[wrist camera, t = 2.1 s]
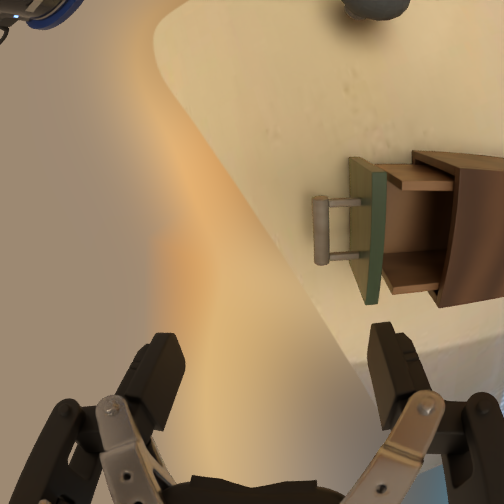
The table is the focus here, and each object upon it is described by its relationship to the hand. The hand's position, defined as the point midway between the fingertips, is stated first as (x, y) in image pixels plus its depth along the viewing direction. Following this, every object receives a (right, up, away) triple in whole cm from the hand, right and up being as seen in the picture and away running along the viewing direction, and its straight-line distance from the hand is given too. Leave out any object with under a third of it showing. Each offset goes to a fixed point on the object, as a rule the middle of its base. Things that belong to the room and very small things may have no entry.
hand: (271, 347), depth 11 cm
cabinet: (+24, +9, +16) cm, 30 cm away
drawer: (+14, +8, +17) cm, 23 cm away
